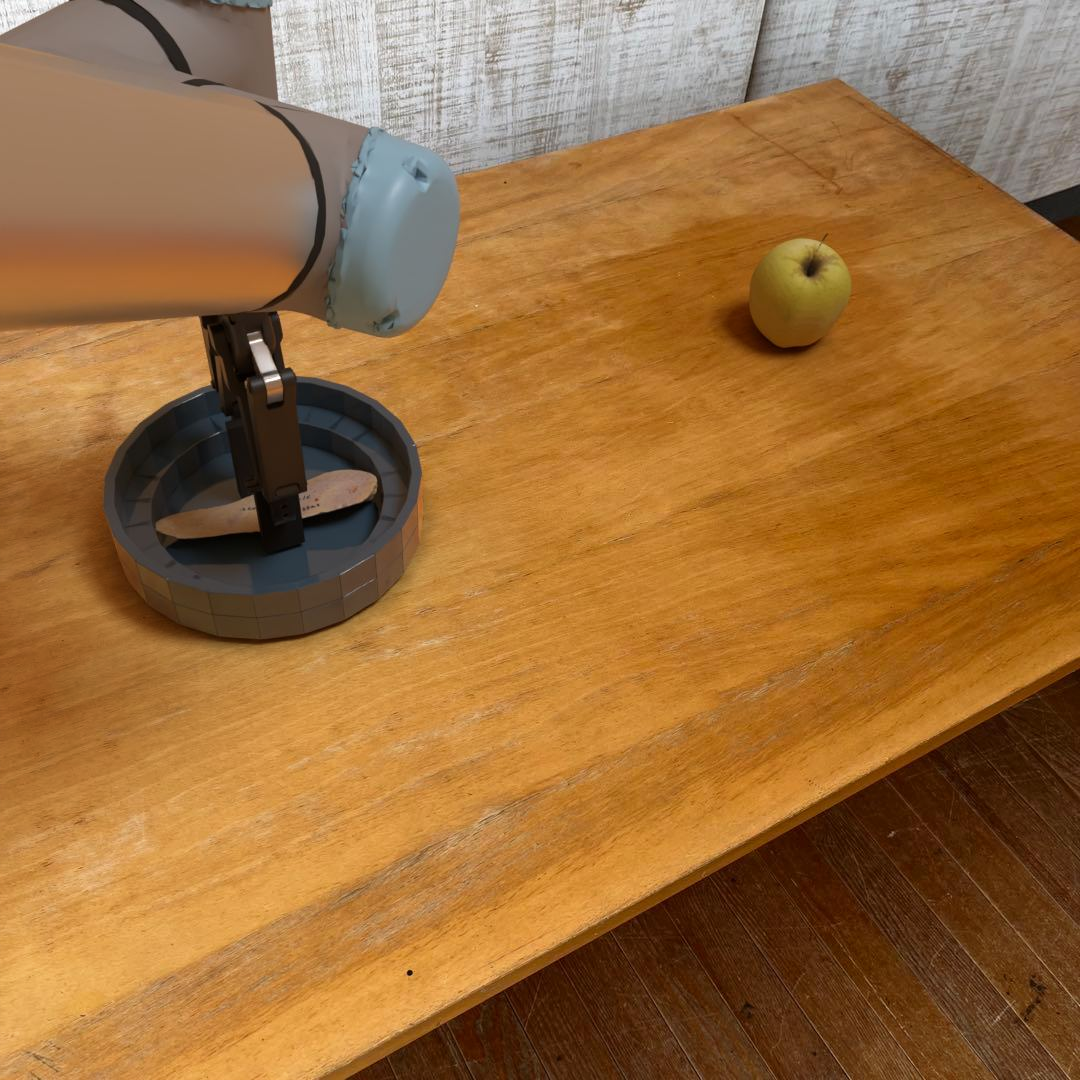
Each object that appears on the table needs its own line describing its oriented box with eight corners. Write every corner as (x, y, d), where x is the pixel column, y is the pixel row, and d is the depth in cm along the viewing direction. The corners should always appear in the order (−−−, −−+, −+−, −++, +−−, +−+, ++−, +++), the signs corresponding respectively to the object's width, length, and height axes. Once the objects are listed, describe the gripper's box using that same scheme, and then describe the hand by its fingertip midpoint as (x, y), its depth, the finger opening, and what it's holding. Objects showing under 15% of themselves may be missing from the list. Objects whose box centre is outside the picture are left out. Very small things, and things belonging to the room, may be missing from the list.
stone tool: (163, 565, 76) (387, 514, 80) (157, 545, 75) (385, 494, 79) (156, 526, 80) (370, 478, 84) (150, 507, 79) (367, 459, 83)
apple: (748, 280, 102) (805, 193, 94) (825, 330, 101) (889, 247, 93) (714, 328, 97) (772, 241, 89) (795, 382, 96) (860, 298, 89)
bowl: (349, 682, 72) (343, 632, 69) (58, 593, 76) (38, 541, 72) (464, 467, 86) (464, 415, 82) (212, 399, 89) (202, 347, 85)
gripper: (112, 149, 67) (181, 448, 84) (197, 328, 56) (257, 628, 73) (241, 126, 69) (283, 421, 86) (346, 293, 59) (370, 591, 76)
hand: (271, 515), depth 80 cm, fingers closed on stone tool, 5 cm apart
